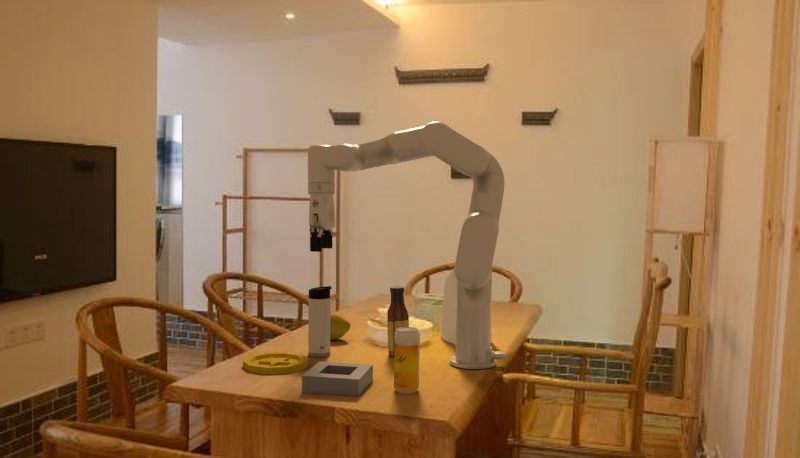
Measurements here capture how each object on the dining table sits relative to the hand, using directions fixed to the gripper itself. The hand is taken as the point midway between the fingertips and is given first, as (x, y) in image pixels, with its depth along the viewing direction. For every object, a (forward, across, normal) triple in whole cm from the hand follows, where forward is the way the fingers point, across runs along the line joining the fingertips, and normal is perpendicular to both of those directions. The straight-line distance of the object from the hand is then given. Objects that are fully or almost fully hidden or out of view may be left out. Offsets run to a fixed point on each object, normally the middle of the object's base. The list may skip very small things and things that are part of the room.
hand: (321, 249), depth 206 cm
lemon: (+31, +22, +3) cm, 38 cm away
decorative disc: (+31, -12, +9) cm, 35 cm away
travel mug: (+31, +2, +1) cm, 31 cm away
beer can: (+31, -27, -30) cm, 51 cm away
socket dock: (+31, -27, -13) cm, 43 cm away
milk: (+31, +31, -38) cm, 58 cm away
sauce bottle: (+31, +7, -21) cm, 38 cm away
